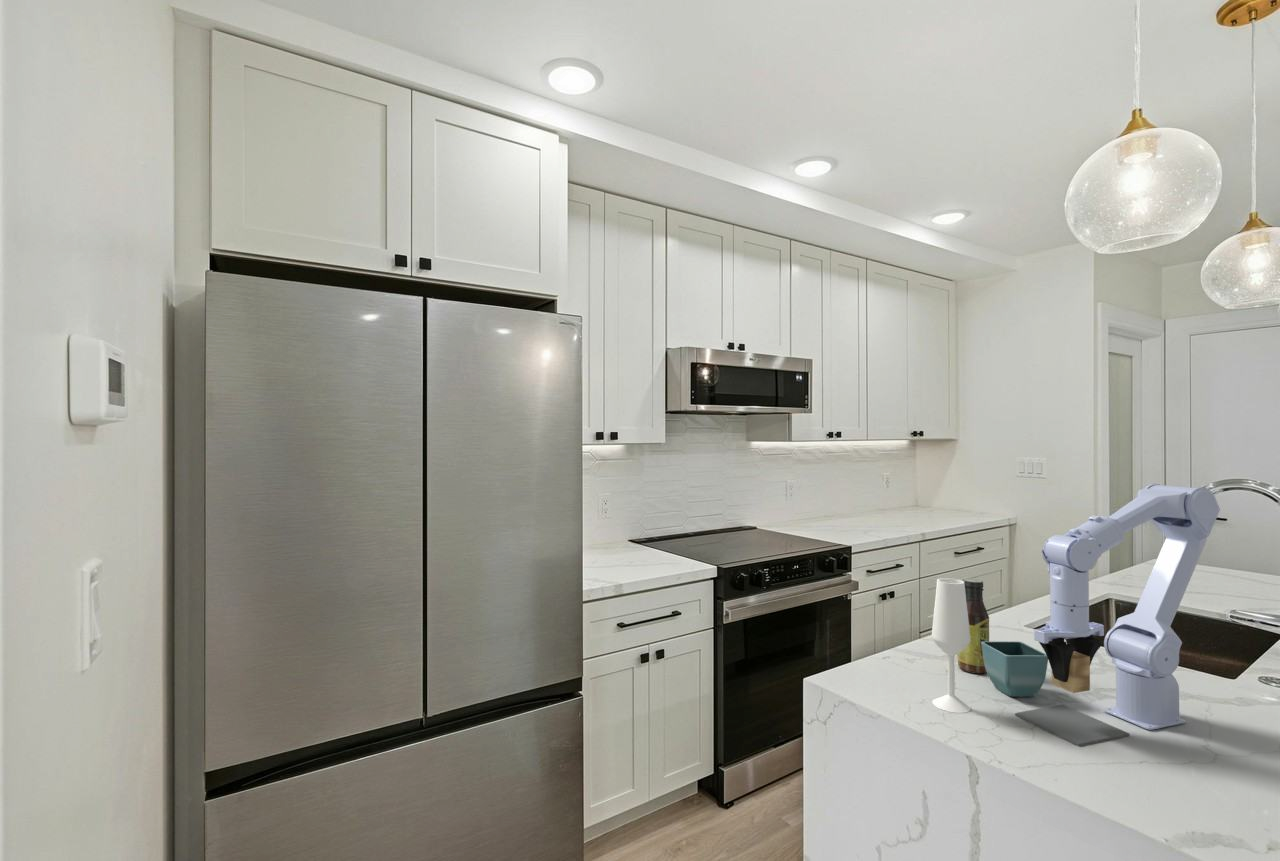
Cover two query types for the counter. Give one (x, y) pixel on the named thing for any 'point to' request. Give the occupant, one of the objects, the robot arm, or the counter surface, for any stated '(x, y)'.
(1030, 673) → the flower pot
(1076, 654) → the oak block
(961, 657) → the sauce bottle
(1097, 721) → the mat
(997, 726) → the counter surface
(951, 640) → the champagne flute
